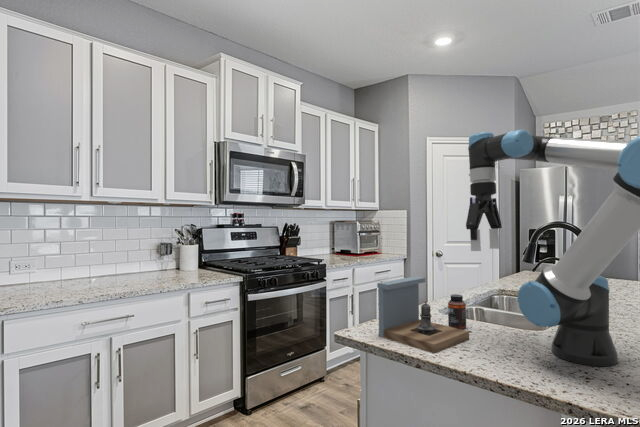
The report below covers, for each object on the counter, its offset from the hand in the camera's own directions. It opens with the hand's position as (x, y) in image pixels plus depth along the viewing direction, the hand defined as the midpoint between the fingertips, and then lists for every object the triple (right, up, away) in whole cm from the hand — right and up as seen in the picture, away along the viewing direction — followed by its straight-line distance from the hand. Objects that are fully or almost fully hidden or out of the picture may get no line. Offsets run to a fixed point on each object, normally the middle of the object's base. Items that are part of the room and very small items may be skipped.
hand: (485, 249), depth 122 cm
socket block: (-18, -29, +3) cm, 34 cm away
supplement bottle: (-4, -29, +15) cm, 33 cm away
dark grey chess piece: (-18, -29, +3) cm, 34 cm away
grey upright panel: (-24, -29, +10) cm, 39 cm away
